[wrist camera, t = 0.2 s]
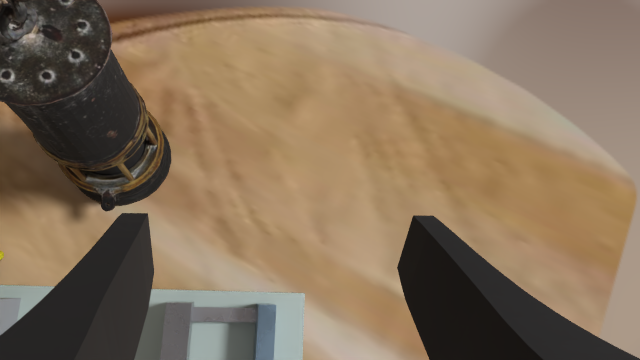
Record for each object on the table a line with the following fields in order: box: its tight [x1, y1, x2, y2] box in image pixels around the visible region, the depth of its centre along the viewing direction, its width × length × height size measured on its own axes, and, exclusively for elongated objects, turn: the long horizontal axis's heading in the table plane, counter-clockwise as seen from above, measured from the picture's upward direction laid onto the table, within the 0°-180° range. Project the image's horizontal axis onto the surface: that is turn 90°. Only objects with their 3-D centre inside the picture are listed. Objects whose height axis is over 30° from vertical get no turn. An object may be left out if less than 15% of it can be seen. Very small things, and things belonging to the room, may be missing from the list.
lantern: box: [0, 0, 171, 211], centre depth 28 cm, size 9×9×30 cm
